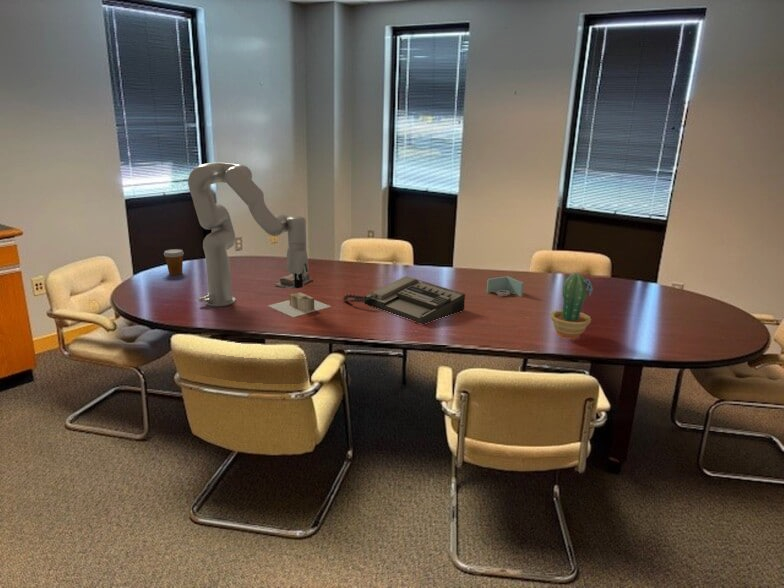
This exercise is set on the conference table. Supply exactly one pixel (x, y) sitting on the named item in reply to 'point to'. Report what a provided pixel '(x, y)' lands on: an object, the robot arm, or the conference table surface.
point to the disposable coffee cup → (174, 261)
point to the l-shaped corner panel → (505, 286)
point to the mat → (294, 311)
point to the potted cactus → (572, 308)
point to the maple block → (301, 301)
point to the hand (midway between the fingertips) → (298, 287)
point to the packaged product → (291, 281)
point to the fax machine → (415, 300)
